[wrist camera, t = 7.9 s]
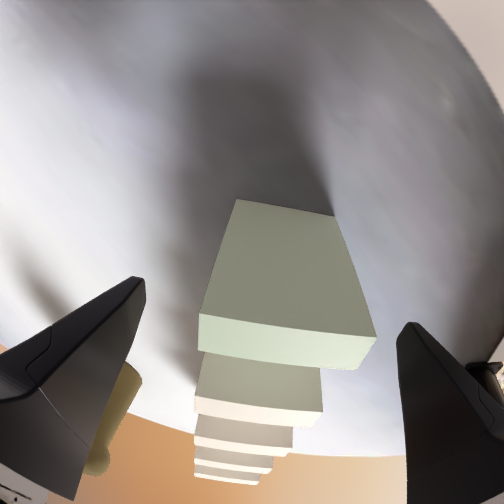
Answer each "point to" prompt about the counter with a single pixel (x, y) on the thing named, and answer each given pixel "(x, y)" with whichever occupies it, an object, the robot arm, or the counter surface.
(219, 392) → the domino
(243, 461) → the domino
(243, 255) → the sage domino
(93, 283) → the counter surface
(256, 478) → the domino
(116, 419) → the cork
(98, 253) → the counter surface
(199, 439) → the domino
